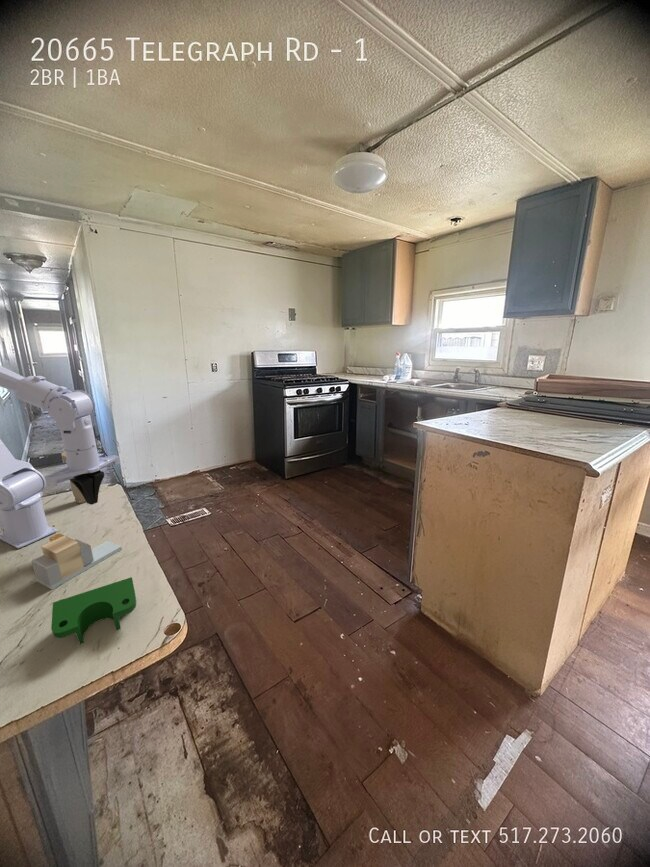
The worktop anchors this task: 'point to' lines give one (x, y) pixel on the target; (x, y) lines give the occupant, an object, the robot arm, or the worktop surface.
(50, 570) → the vise
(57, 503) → the worktop surface
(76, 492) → the handle
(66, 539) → the block
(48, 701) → the worktop surface
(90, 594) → the clamp
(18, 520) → the robot arm
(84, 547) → the free jaw
